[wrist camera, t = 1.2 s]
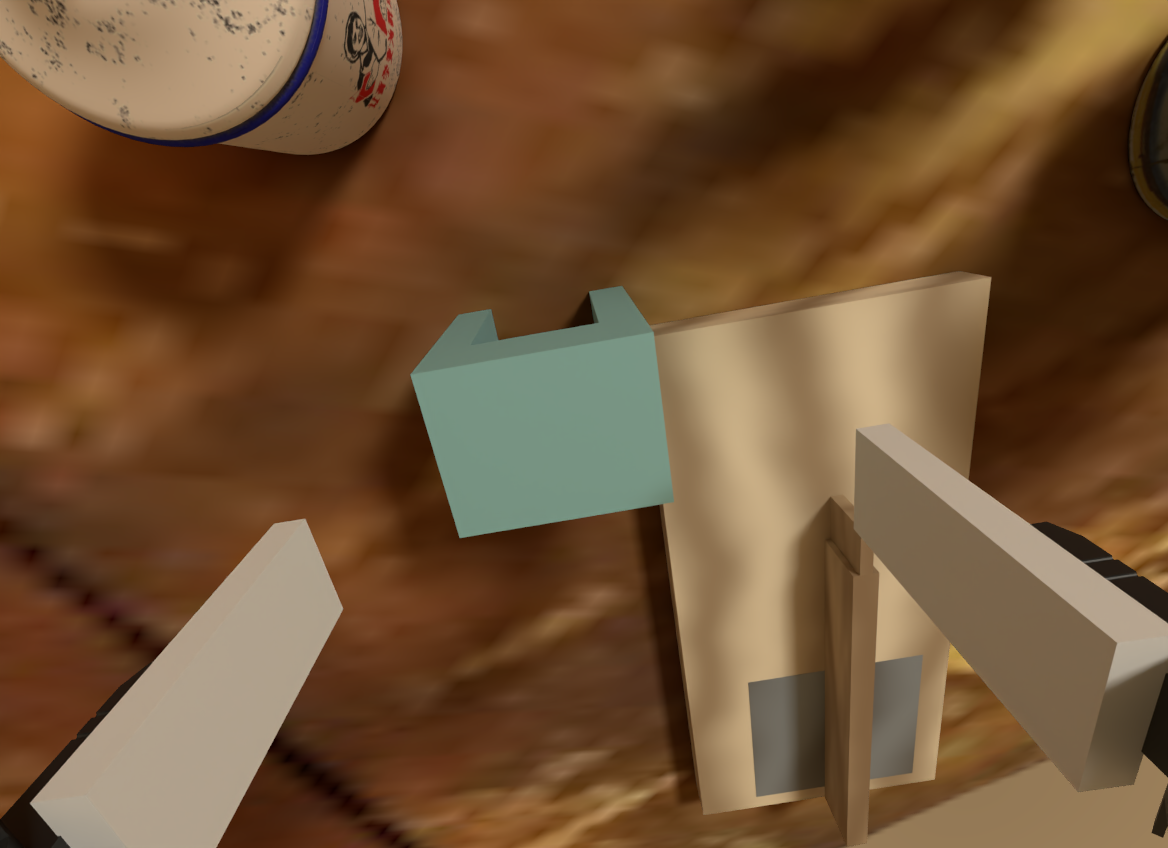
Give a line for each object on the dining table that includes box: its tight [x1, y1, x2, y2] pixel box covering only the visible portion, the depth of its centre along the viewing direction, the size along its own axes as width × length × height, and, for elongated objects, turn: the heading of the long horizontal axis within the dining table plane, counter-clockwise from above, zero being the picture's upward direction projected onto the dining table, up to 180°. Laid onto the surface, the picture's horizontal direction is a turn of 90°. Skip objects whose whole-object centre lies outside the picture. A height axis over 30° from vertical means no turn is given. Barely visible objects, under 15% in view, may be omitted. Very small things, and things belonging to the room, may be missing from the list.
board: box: [649, 271, 991, 846], centre depth 30 cm, size 15×32×5 cm, turn 10°
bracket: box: [411, 286, 674, 538], centre depth 22 cm, size 8×6×9 cm
